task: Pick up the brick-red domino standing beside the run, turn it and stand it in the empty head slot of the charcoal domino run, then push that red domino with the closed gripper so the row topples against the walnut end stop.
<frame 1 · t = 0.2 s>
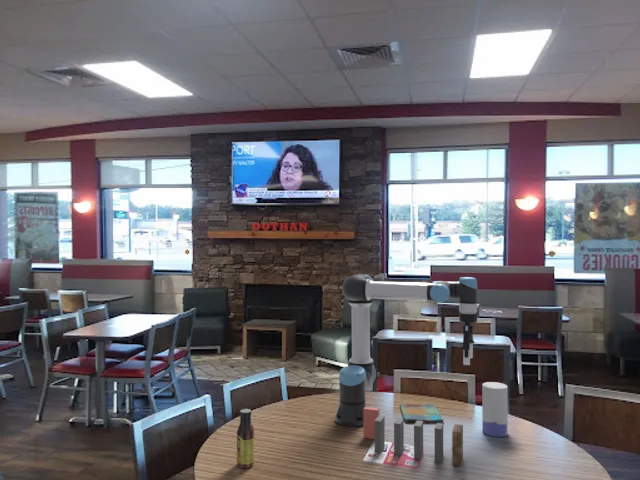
hand: (468, 361, 221), 28 cm above the table, tool pointing down, fingers open, 13 cm apart
end stop: (457, 461, 185), on the table
sauce bottle: (245, 466, 182), on the table
domino 5: (439, 458, 187), on the table
domino 2: (379, 449, 195), on the table
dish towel: (420, 416, 235), on the table
container: (494, 433, 213), on the table
domino 3: (398, 452, 193), on the table
domino 4: (418, 455, 190), on the table
red domino: (371, 438, 207), on the table
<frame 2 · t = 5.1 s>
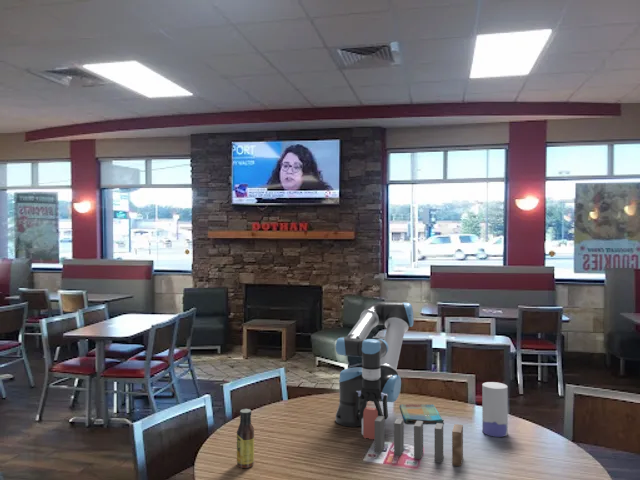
hand: (371, 434, 207), 1 cm above the table, tool pointing down, fingers closed on red domino, 6 cm apart
red domino: (371, 438, 207), on the table, touching gripper
everything else where it was.
when the fingers open (2 cm above the table, at t = 11.8 s): red domino stays where it is, on the table.
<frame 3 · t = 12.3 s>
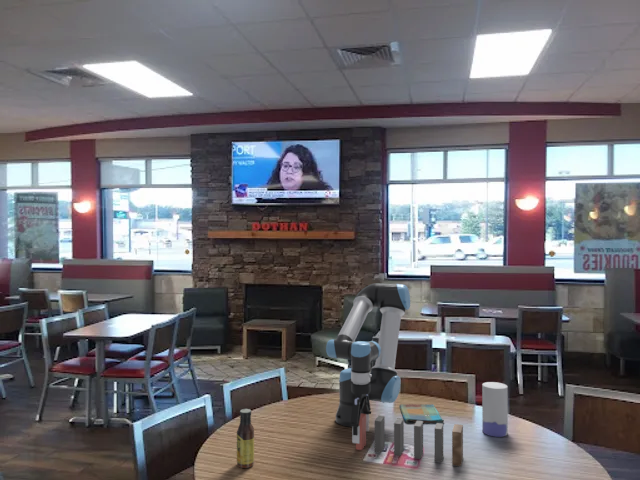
hand: (360, 436, 198), 4 cm above the table, tool pointing down, fingers open, 13 cm apart
red domino: (361, 446, 198), on the table
everything else where it was.
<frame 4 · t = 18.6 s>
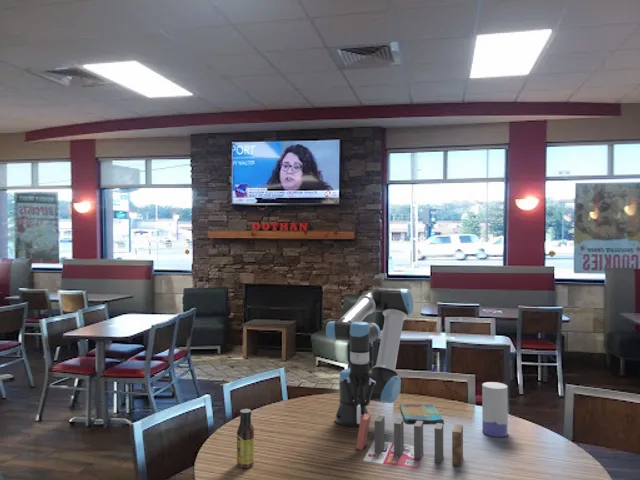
hand: (359, 422, 198), 9 cm above the table, tool pointing down, fingers closed
red domino: (361, 446, 198), on the table, tilted 9°
everything else where it was.
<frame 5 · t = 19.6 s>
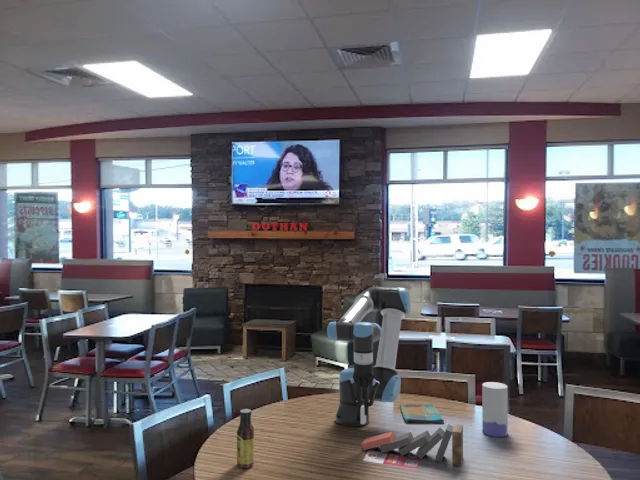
hand: (363, 422, 198), 9 cm above the table, tool pointing down, fingers closed
domino 5: (439, 457, 187), on the table, tilted 20°, touching domino 4, end stop
domino 2: (382, 447, 195), point 1 cm above the table, tilted 64°, touching domino 3, red domino
domino 3: (401, 450, 192), point 1 cm above the table, tilted 56°, touching domino 2, domino 4
domino 4: (419, 453, 190), point 1 cm above the table, tilted 42°, touching domino 3, domino 5
red domino: (364, 444, 198), point 1 cm above the table, tilted 68°, touching domino 2
everything else where it was.
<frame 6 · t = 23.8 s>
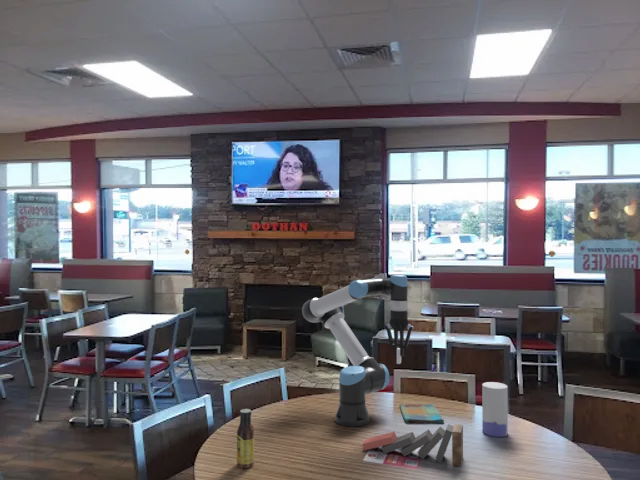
hand: (399, 363, 224), 26 cm above the table, tool pointing down, fingers closed
at the end: domino 5 tilted 19°; domino 5 touching domino 4, end stop, table; red domino tilted 69° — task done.
